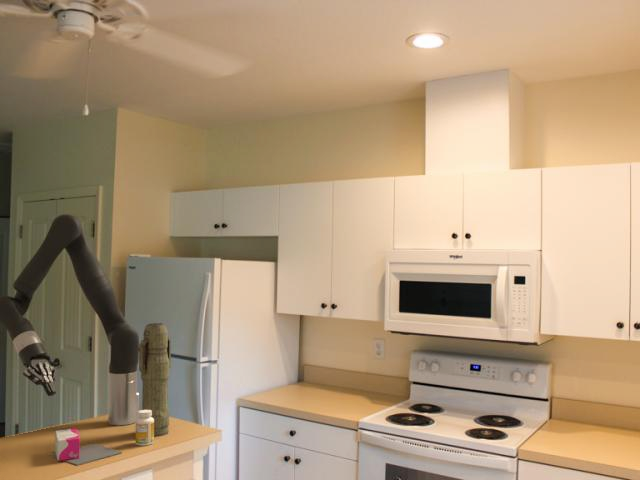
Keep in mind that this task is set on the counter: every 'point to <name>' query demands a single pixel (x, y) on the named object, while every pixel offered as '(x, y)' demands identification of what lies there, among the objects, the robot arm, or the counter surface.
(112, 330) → the robot arm
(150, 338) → the thermos
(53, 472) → the counter surface
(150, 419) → the supplement bottle
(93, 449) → the rubber mat
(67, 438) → the supplement box
